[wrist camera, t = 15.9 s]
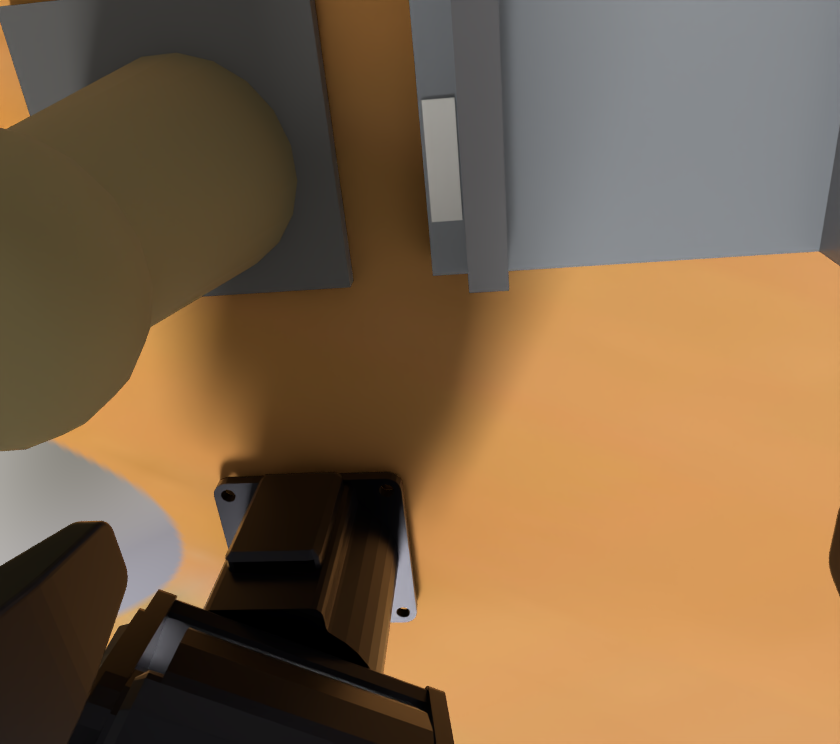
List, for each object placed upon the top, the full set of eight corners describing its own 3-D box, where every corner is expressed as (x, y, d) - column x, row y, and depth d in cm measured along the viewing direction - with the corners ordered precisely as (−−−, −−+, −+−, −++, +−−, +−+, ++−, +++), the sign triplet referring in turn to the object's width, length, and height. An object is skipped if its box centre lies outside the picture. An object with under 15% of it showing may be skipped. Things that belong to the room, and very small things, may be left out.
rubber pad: (353, 280, 21) (350, 287, 21) (99, 296, 22) (89, 303, 22) (311, -26, 18) (305, -28, 17) (9, 7, 18) (-5, 7, 18)
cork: (179, 314, 21) (-70, 569, 12) (32, 138, 19) (-420, 269, 10) (340, 208, 20) (206, 405, 10) (197, 1, 18) (-153, -10, 8)
